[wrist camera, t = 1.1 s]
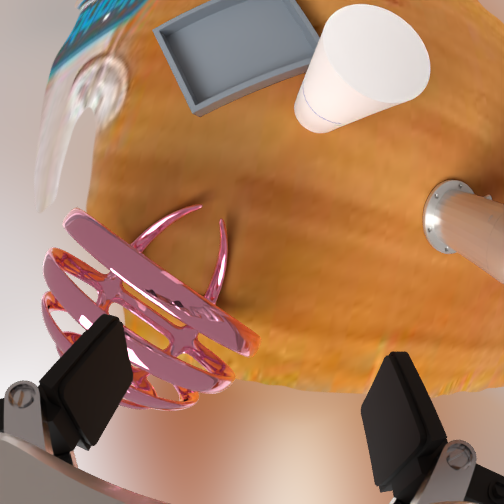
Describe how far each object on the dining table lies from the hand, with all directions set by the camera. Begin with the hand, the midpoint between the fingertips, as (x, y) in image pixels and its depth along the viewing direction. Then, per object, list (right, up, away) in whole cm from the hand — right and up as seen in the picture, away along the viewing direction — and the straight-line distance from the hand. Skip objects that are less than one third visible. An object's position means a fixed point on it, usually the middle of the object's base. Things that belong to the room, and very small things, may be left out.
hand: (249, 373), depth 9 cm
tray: (-2, +34, +24) cm, 42 cm away
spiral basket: (-12, +2, +36) cm, 38 cm away
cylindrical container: (+10, +24, +27) cm, 37 cm away
